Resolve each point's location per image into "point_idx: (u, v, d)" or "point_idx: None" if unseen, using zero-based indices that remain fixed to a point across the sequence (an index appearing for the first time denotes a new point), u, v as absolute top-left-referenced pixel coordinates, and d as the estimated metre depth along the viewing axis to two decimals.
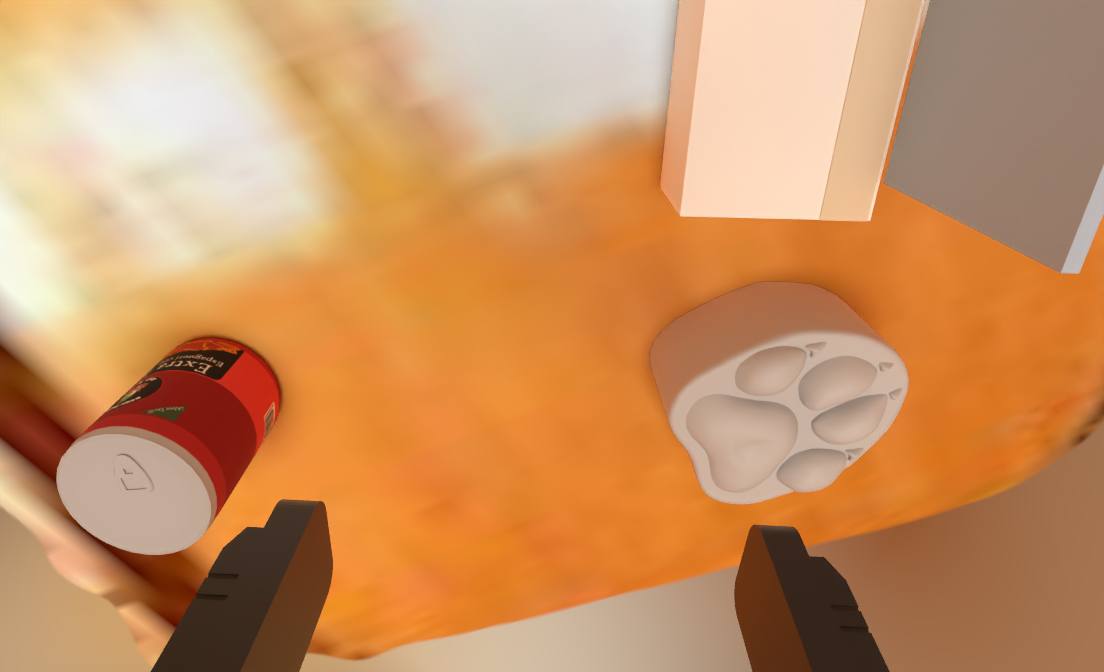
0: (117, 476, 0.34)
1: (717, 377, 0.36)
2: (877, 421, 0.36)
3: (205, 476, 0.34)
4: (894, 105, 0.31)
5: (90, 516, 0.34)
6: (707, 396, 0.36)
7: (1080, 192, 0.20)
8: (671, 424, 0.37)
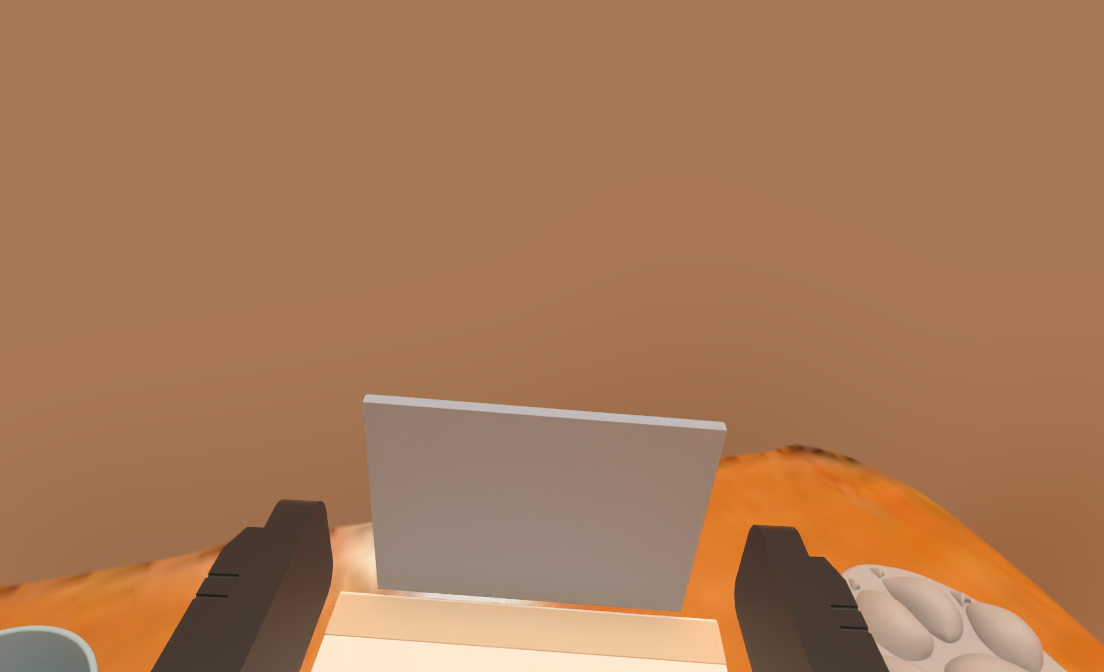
0: None
1: None
2: (913, 578, 0.36)
3: None
4: (613, 615, 0.35)
5: None
6: None
7: (669, 434, 0.29)
8: None
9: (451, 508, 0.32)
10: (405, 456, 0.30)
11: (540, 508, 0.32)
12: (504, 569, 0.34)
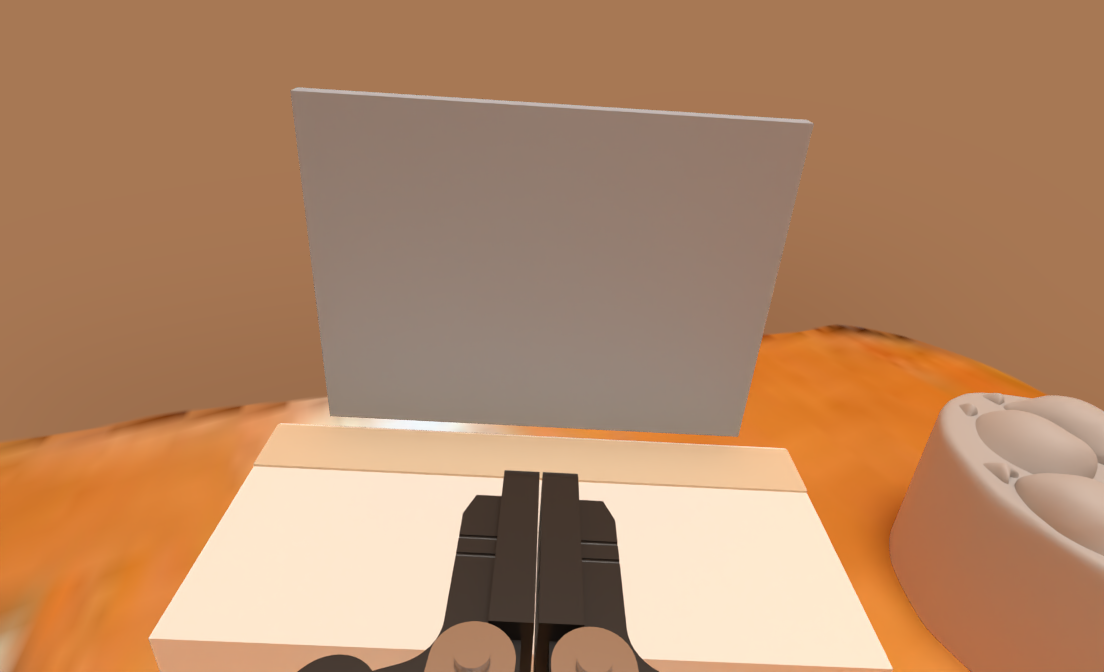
0: None
1: None
2: (1049, 396, 0.27)
3: None
4: (648, 444, 0.26)
5: None
6: None
7: (731, 133, 0.21)
8: None
9: (425, 277, 0.23)
10: (356, 188, 0.21)
11: (549, 272, 0.23)
12: (501, 376, 0.25)
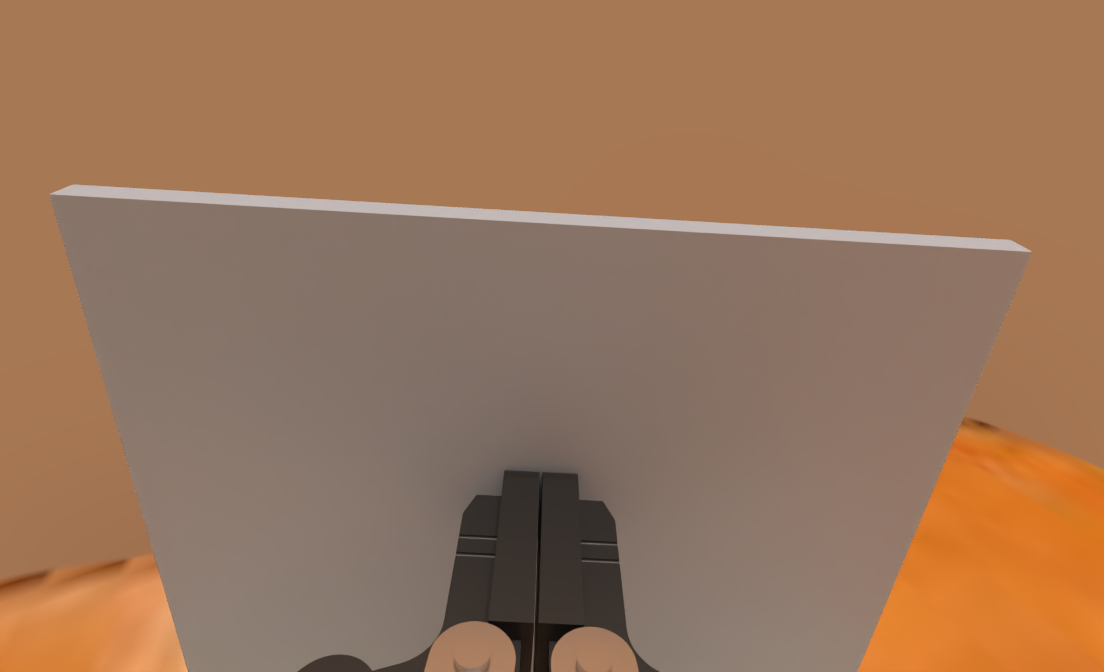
0: None
1: None
2: None
3: None
4: None
5: None
6: None
7: (877, 268, 0.11)
8: None
9: (329, 493, 0.13)
10: (195, 358, 0.12)
11: None
12: None
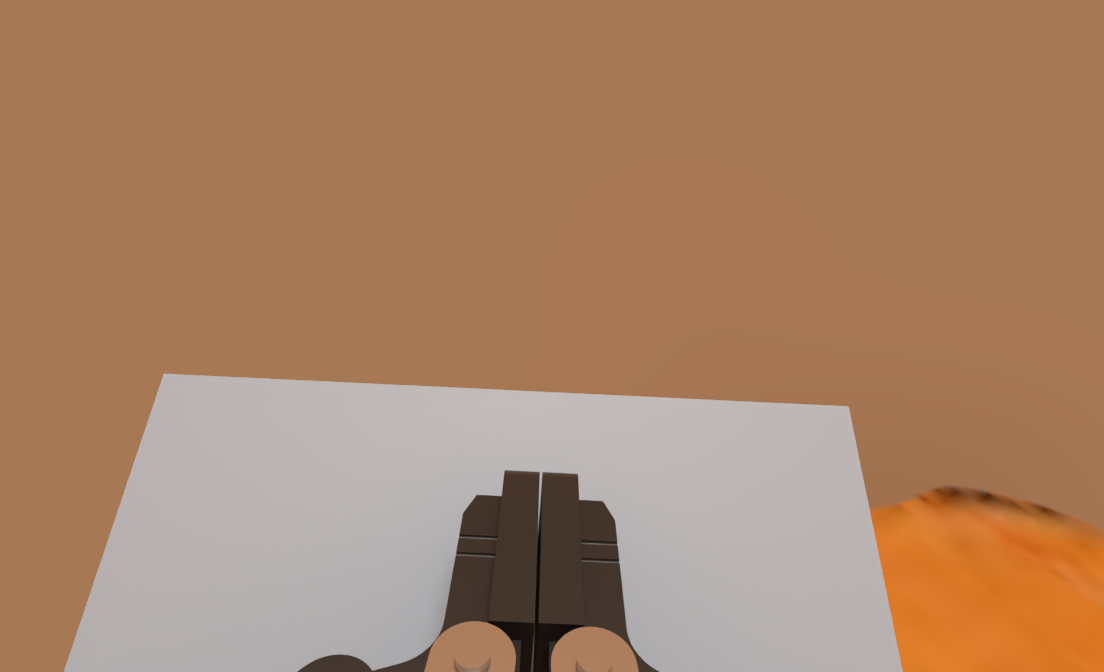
0: None
1: None
2: None
3: None
4: None
5: None
6: None
7: (748, 419, 0.15)
8: None
9: (279, 666, 0.12)
10: (208, 503, 0.14)
11: None
12: None
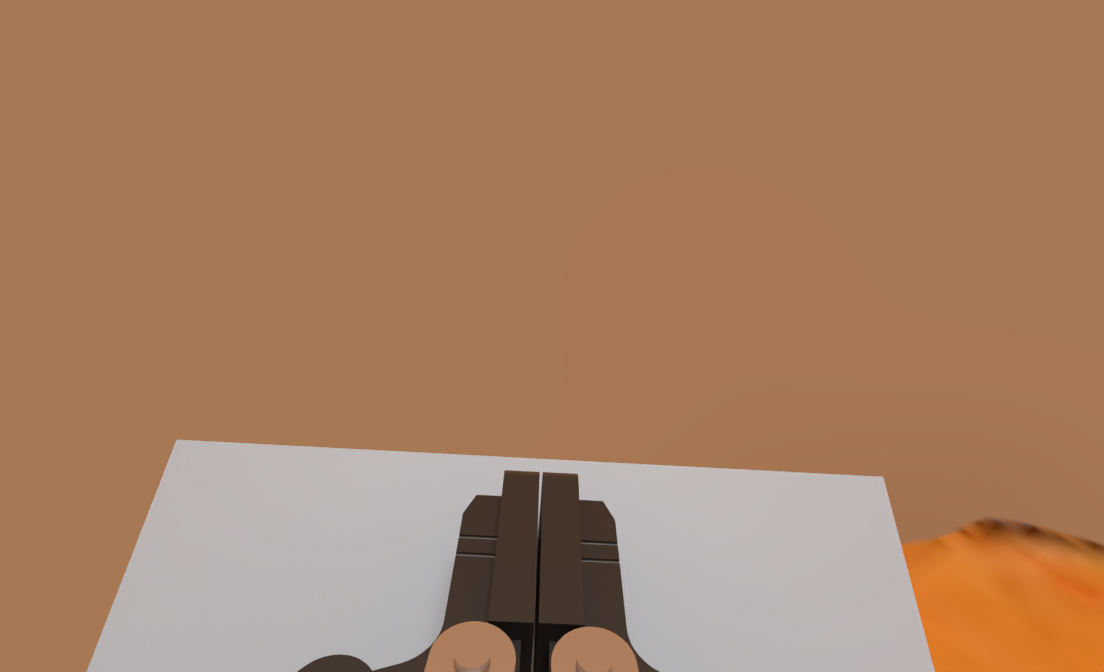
0: None
1: None
2: None
3: None
4: None
5: None
6: None
7: (779, 490, 0.15)
8: None
9: None
10: (215, 576, 0.13)
11: None
12: None
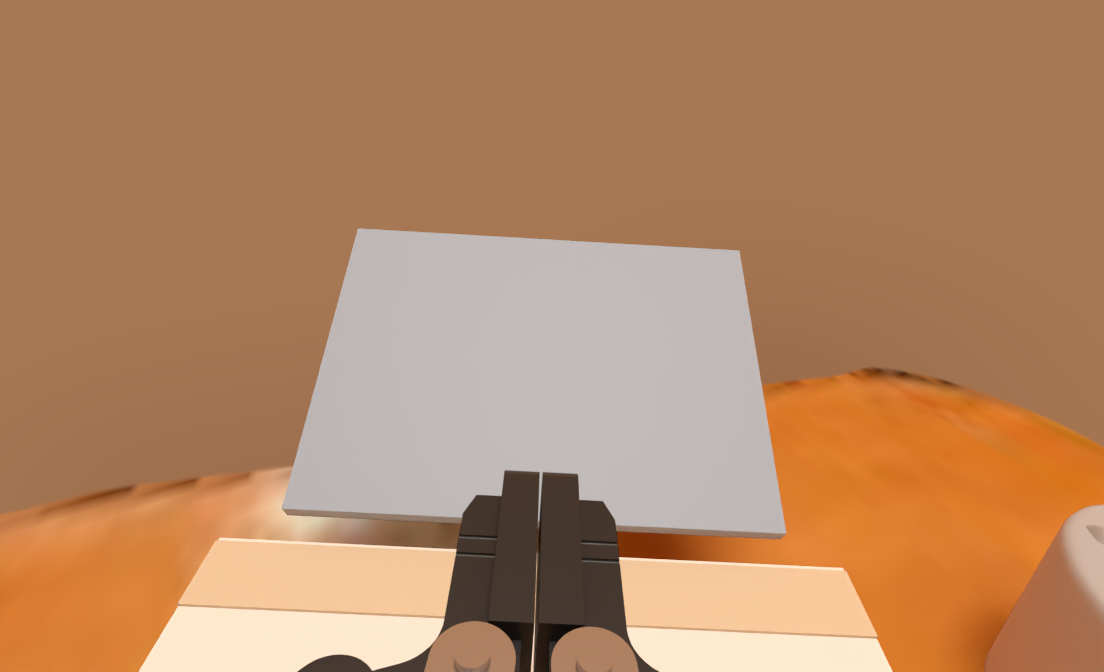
0: None
1: None
2: None
3: None
4: (674, 565, 0.21)
5: None
6: None
7: (681, 255, 0.28)
8: None
9: (432, 352, 0.24)
10: (388, 285, 0.26)
11: (548, 348, 0.25)
12: (497, 454, 0.22)
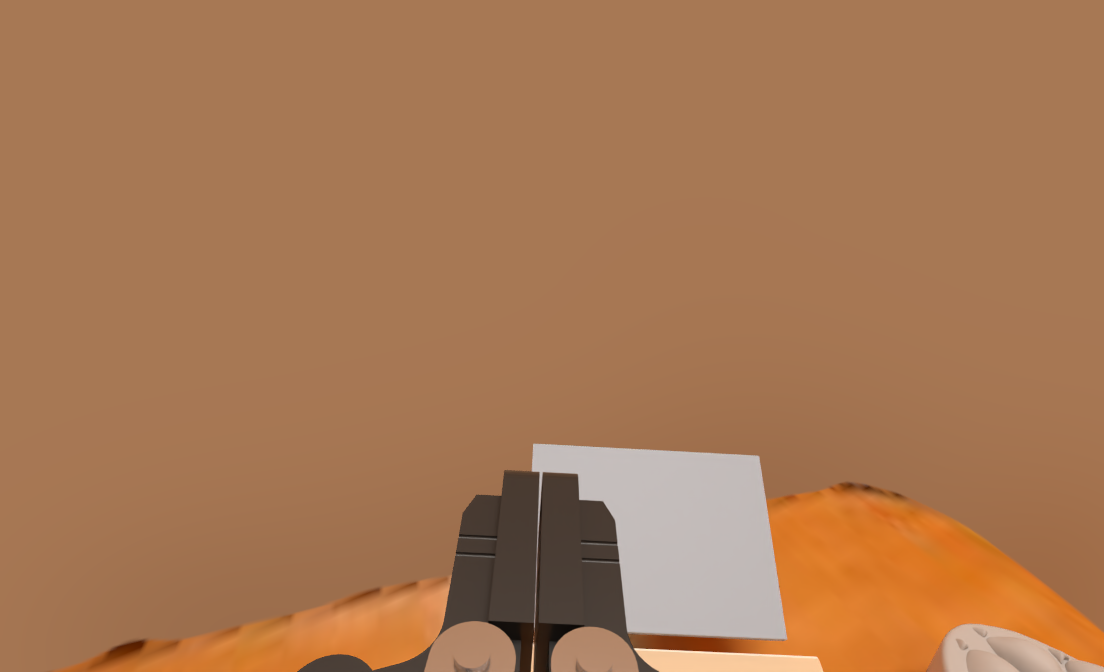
0: None
1: None
2: (1017, 639, 0.40)
3: None
4: (728, 655, 0.40)
5: None
6: None
7: (724, 460, 0.47)
8: None
9: None
10: None
11: (652, 526, 0.44)
12: (631, 593, 0.41)
